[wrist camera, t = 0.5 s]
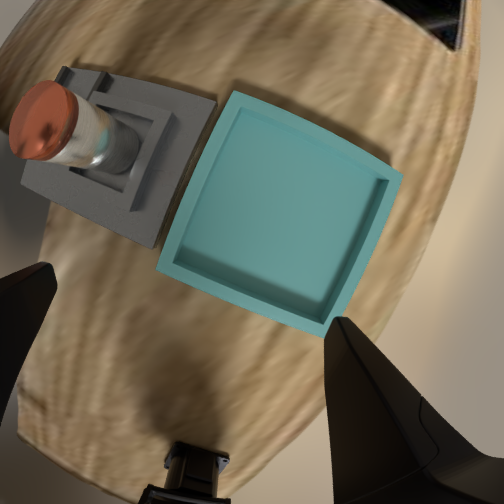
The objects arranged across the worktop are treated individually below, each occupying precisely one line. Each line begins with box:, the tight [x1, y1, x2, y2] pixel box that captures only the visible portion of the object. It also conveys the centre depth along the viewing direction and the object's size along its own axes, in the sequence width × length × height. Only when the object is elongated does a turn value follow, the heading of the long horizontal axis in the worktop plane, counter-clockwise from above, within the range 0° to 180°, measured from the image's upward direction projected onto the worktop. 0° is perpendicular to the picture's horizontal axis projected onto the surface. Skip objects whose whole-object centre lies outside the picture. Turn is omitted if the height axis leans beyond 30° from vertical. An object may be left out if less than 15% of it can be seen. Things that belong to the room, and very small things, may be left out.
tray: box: [155, 90, 403, 338], centre depth 20 cm, size 14×14×2 cm
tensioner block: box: [21, 66, 218, 249], centre depth 18 cm, size 12×16×3 cm
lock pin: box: [9, 80, 139, 174], centre depth 13 cm, size 4×4×10 cm
